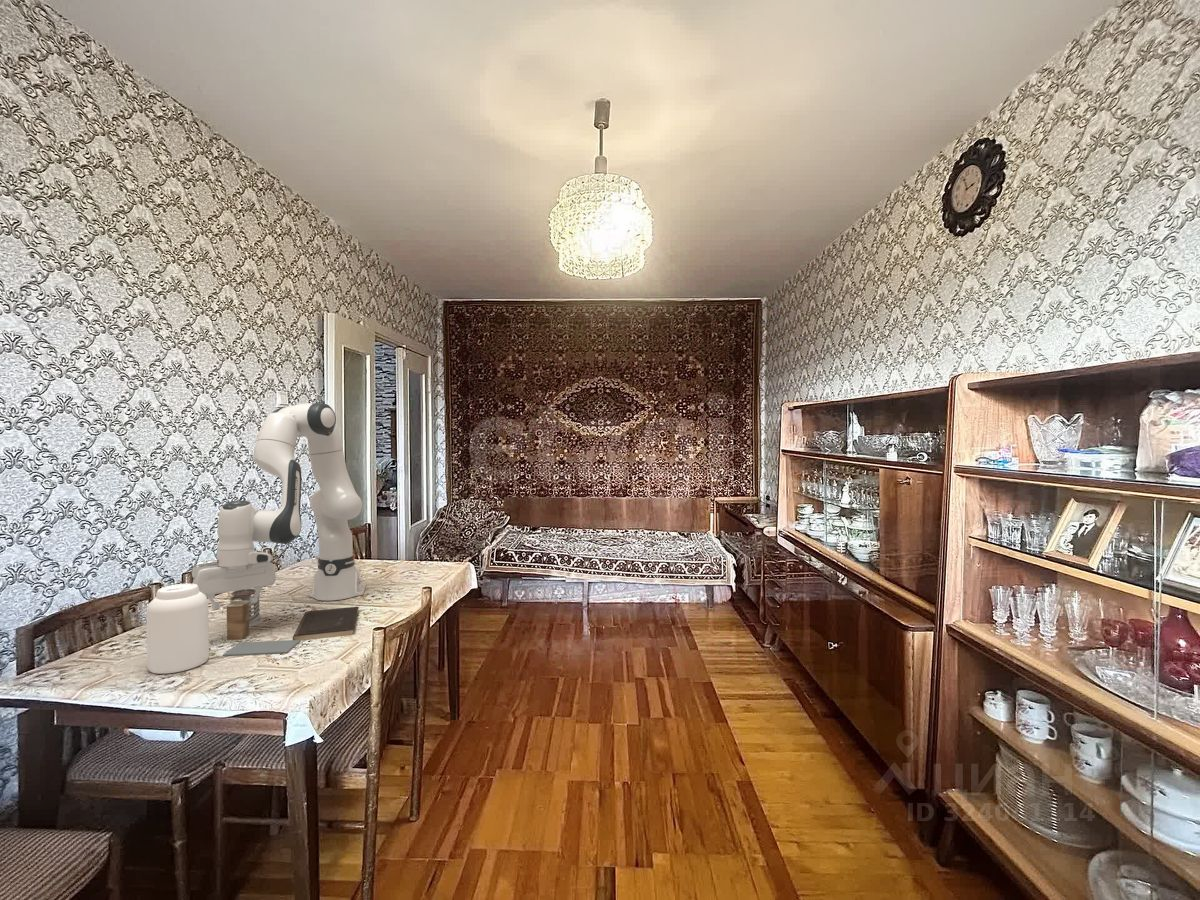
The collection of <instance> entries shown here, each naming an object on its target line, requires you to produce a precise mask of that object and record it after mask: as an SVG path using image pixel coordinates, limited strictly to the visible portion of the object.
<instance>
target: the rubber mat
mask: <svg viewBox="0 0 1200 900" xmlns="http://www.w3.org/2000/svg"><path fill="white" fill-rule="evenodd" d="M301 641H302V640H293V639H289V640H288V639H287V640H267V641H266V640H265V641H264V640H263V641H262V640H261V641H242V642H241V641H239V642H238V643H237V644H235V645H234V646H232V647H231V648H230V649H228V650H227V651H226V652H224V653H223V654H222V657H232V656H234V657H235V656H237V657H239V656H255V655H259V656H260V655H276V654H277V655H278V654H289V652H291V651H292V649H294V648H295V647H296V646H297V645H298V644H299V643H300V642H301Z"/></svg>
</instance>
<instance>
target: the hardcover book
mask: <svg viewBox="0 0 1200 900" xmlns="http://www.w3.org/2000/svg"><path fill="white" fill-rule="evenodd" d="M359 609H360V608H359V606H350V607H348V606H347V607H339V608H327V609H318V610H317V609H316V610H307V611H305V612H304V613H303V616H302V618H301V620H300V621H299V623H298V626H297V628H296V630H295V632H294V634H293V635H292V640H301V641H305V640H315V639H325V638H334V637H341V636H342V637H343V636H351V635H353V634H354V630H355V628H356V621H357V618H358V611H359Z"/></svg>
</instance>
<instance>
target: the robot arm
mask: <svg viewBox="0 0 1200 900" xmlns="http://www.w3.org/2000/svg"><path fill="white" fill-rule="evenodd" d="M336 417H337V415H336V413H335V411H334V409H333V408H332V407H331V405H329V404H327V403H323V402H314V403H313V402H311V403H298V404H295V405H289V406H281V407H279V408H278V407H277V409H275V410H273V411H272V413H269V414H268V415H267V416H266V417H265V419H264V421H263V422H262V425H261V427H260V430H258V435H257V438H256V441H255V445H254V448H253V453H252V455H253V460H254V463H255V465H257V466H258V467H259V468H260V469H261V470H262V471H265V472H266V473H268V474H271V475H272V476H274V477H278V478H279V479H280V480H281V483H282V488H281V489H282V491H281V507H279V509H277V510H274V509H272V510H271V509H259V508H256V507H254V506H253V503H252V502H251V501H249V500H234V501H229V502H226V503H224V504H222V505H221V507H220V509H219V513H218V520H217V537H218V545H217V548H216V549H217V551H216V553H217V554H216V555H217V557H216V559H215V560H210V561H201V562H198V563H196V564H195V565H193V567H191V577H192V578H193V579H192V584H197V585H198V587H199V591H200V592H202V593H203V594H205V595H206V597H207V599H208V602H210V603H211V610H212V611H216V610H217V611H218V610H220V608H221V607H220V605H221V603H220V602H219V601H215V598H216V595H219V594H223V593H230V592H231V593H233V592H235V591H239V590H246V589H254V590H256V591H255V593H254V595H251V597H250V603H251V604H252V603H257V597H258V596H259V594H260V595H261V592H262V588H263V587H264V588H265V587H270V586H273V585H274V584H275V583H276V568H275V565H274V564H273V562H272V560H273V556H272V554H271V553H269V552H266V551H261V550H255V546H254V542H257V543H273V544H281V545H288V544H290V543H291V542H293V541H294V540H295V539H297V538H298V536H299V535H300V533H301V532H302V525H303V524H302V516H301V502H302V501H301V497H302V467H301V465H300V463H299V462H298V461H296V458H295V450H296V447H297V446H296V445H297V440H298V438H302V437H303V438H304V437H305V438H306V440H307V447H308V448H307V449H308V455H309V460H310V461H309V462H310V466H311V471H312V472H311V473H312V475H313V478H314V479H315V481H316V483H317V484H318V486H319V489H318V490H316V491H315V492H313V494H312V495H311V497H310V500H309V505H310V509H311V510H312V512H313V515H314V519H315V526H316V528H317V534H318V558H317V570H316V571H315V572H314V574H313V583H312V592H310V593H308V597H309V598H312V599H313V598H314V599H315V600H318V601H325V602H326V601H339V600H345V599H350V598H354V597H358V596H362V595H364V594H365V591H366V588H367V582H364V581H361V573H360V571H359V569H358V568H357V567H356V566H355V564H356V562H355V559H356V554H355V553H353V552H354V551H353V549H354V548H353V547H354V546H353V545H354V544H353V541H354V540H353V532H352V531H351V529H350V526H349V523H348V521H349V520H353V519H355V518H356V517H358V516H359V515H360V514H361V511H362V509H363V501H362V498H361V497H360V496H359V495H358V494H357V491H356V490H355V487H354V485H353V483H352V480H351V477H350V475H349V472H348V469H347V464H346V458H345V453H344V447H343V442H342V439H341V436H340V433H339V431H338V429H337V425H336V423H337V418H336Z"/></svg>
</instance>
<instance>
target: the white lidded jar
mask: <svg viewBox="0 0 1200 900" xmlns="http://www.w3.org/2000/svg"><path fill="white" fill-rule="evenodd" d="M209 621H210V619H209V599H208V598H207V596H206V595H205V594H203V593H202V592H200V591H199V587H198V585H197V584H193V583H176V584H172V585H171V584H170V585H166V586H163V587H161V588H159V589H157V591H156V593H155V597H154V598H153V599H152V600H151V601H150V602H149V603H148V605H147V607H146V647H147V648H146V651H147V653H146V656H147V657H146V660H147V670H148V671H149V672H150V673H151V674H158V675H159V674H160V675H163V674H175V673H180V672H185V671H188V670H192V669H195V668H196V667H199V666H201V665H203V664H204V663H206V662H207V661H208V659H209V657H210V634H209V633H210V628H209V627H210V625H209V624H210V623H209Z"/></svg>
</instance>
